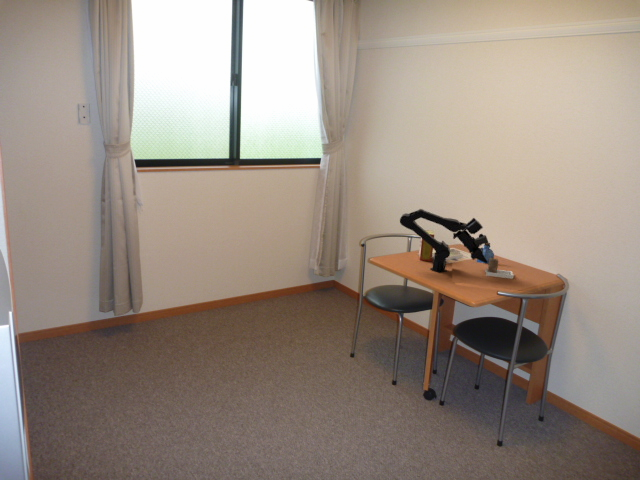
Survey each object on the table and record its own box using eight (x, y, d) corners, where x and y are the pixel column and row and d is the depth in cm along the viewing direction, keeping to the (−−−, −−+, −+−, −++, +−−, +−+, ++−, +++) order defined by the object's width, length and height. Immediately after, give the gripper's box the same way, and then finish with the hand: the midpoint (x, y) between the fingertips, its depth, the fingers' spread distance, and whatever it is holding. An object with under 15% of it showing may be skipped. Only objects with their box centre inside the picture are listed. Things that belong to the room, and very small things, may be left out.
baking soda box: (431, 261, 272) (434, 234, 268) (419, 260, 273) (422, 233, 269) (430, 256, 281) (432, 230, 277) (418, 255, 282) (421, 229, 278)
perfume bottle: (485, 261, 276) (488, 241, 273) (492, 264, 271) (495, 244, 268) (476, 262, 274) (479, 242, 271) (483, 265, 269) (486, 244, 266)
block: (488, 274, 248) (490, 260, 246) (487, 272, 252) (489, 258, 250) (496, 275, 247) (498, 261, 245) (495, 273, 251) (497, 258, 249)
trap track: (485, 277, 247) (486, 272, 247) (485, 273, 254) (485, 268, 253) (512, 281, 244) (513, 275, 243) (511, 276, 251) (512, 271, 250)
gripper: (480, 234, 237) (501, 257, 237) (478, 226, 255) (498, 248, 255) (462, 247, 241) (482, 271, 241) (461, 239, 259) (480, 261, 259)
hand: (486, 262), depth 249 cm, fingers closed
